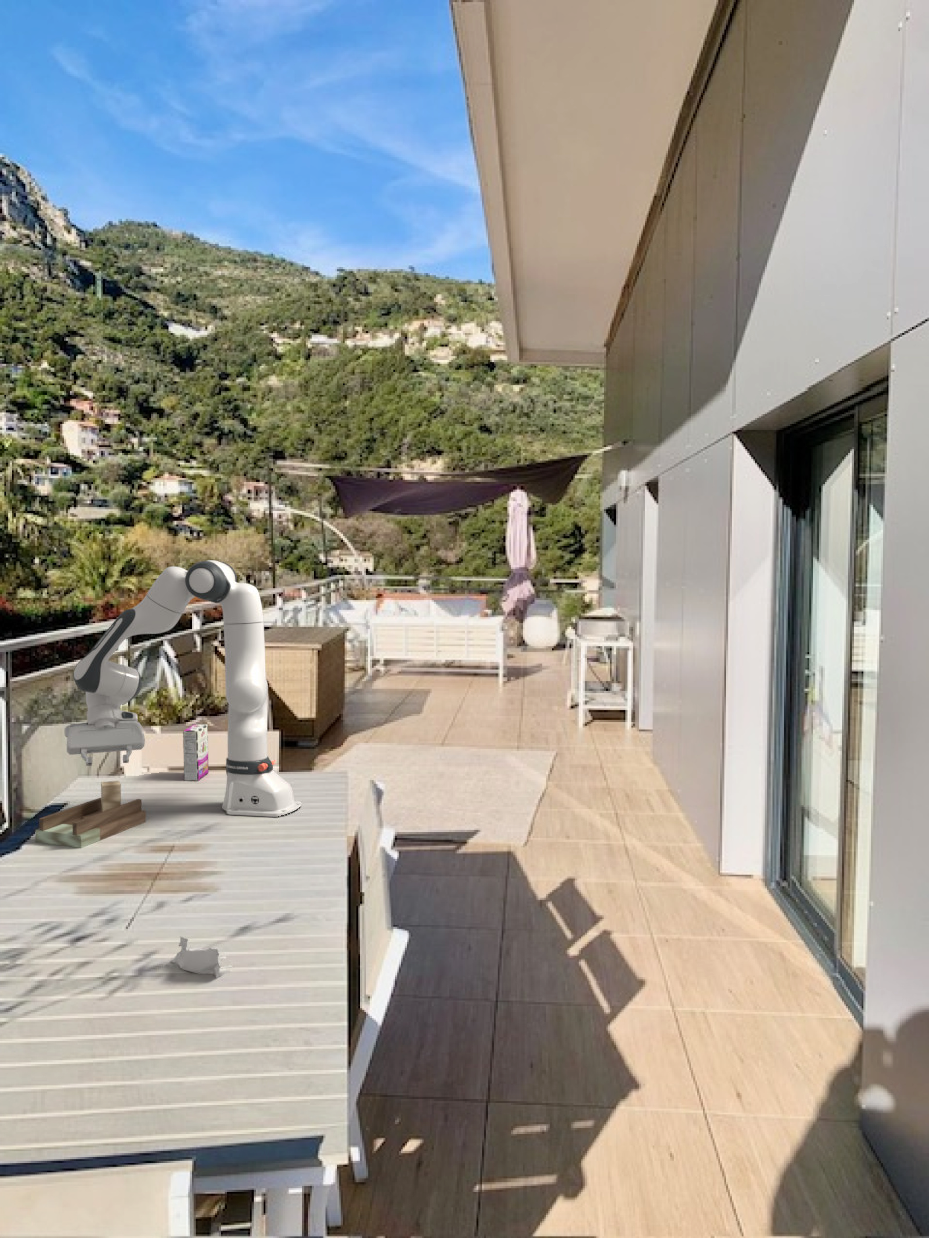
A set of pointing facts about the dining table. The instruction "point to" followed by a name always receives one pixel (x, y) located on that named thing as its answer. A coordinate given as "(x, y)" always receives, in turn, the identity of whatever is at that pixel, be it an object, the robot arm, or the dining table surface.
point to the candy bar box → (195, 752)
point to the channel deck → (88, 823)
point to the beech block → (110, 795)
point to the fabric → (199, 960)
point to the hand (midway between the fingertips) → (107, 763)
